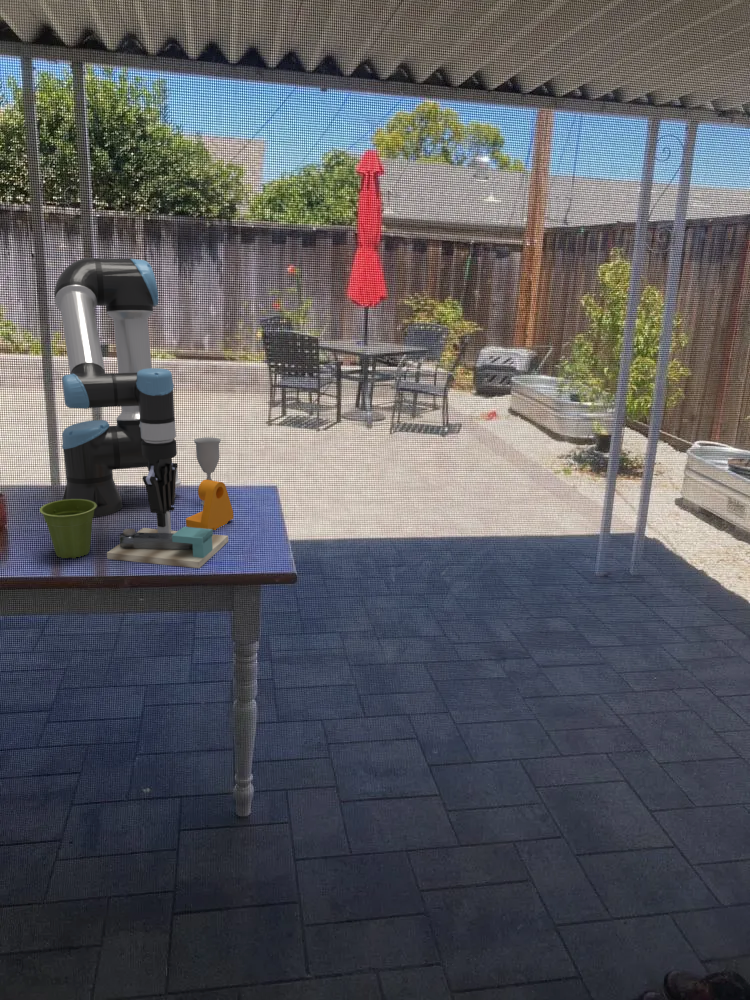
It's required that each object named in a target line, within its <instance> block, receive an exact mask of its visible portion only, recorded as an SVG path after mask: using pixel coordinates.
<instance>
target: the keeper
mask: <svg viewBox="0 0 750 1000" xmlns="http://www.w3.org/2000/svg"><path fill="white" fill-rule="evenodd" d="M176 531H177V532H176V533H175V534H173V535H172V542H179V543H190V544H193V557H201V558H204V557H205V556H206V555H207V554H209V553H210V552H211V551H212V550H213V548H212V536H213V534H214V532H213V529H203V528H193V527H187V526H182V527H181V528H180V529H178V530H176Z"/></svg>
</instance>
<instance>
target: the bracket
mask: <svg viewBox="0 0 750 1000" xmlns="http://www.w3.org/2000/svg"><path fill="white" fill-rule="evenodd" d="M197 494H198V495H197V496H198V499H200V500H201V501H202V500H203V501H204V505H202V506H203V508H202V511H200V512H197V513H195V514H192V515H190V516H189V517H186V518H185V527H193V528H203V529H213V530H215V531H216V529H217V528H219V527H221V526H223V525H225V524H227V523H228V522H229V521H231V520H234V518H235V517H234V510H233V506H232V503H231V500H230V497H229V492H228V489H227V487H226V484H225V483H224V482H222V481H217V480H213V479H212V480H206V479H203V480H201V482H200V483H199V485H198V489H197ZM227 525H228V524H227ZM225 526H226V525H225ZM223 527H224V526H223ZM221 528H222V527H221ZM219 529H220V528H219ZM217 530H218V529H217Z"/></svg>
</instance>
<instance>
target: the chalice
mask: <svg viewBox="0 0 750 1000" xmlns="http://www.w3.org/2000/svg"><path fill="white" fill-rule="evenodd" d="M221 441H222V439H221V438H218V437H213V436H211V437H209V436H207V437H205V436H204V437H198V438H194V439H193V442H194V444H195V453H196V454H195V455H196V459H197V462H198V464H199V466H200V469H201V470H202V472H203V473H205V474H206V479H205V480H212V481H213V479H212V476H211V475H212V473H214V472H215V471H216V468H217V465H218V464H219V460H220V443H221ZM200 504H202V505H201V506H204V501H203V500H201V502H200Z"/></svg>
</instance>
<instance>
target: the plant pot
mask: <svg viewBox="0 0 750 1000" xmlns="http://www.w3.org/2000/svg"><path fill="white" fill-rule="evenodd" d="M96 507H97V504H96V503H95V502H93V501H90V500H85V499H66V500H63V499H59V500H56V501H52V502H48V503H46V504H43V505H42V506H41V507H40V508H39V513H40V514H42V516H43V519H44V521H45V523H46V525H47V529H48V531H49V532H48V533H49V535H50V539H51V542H52V545H53V549H54V552H55V555H56V557H58V558H60V557H61V558H60V559H64V558H67V559H68V558H72V559H77V558H76V557H79V558H81V557H80V556H82V557H85V556H86V555H88V554H89V553H90V550H91V542H92V529H93V521H94V520H93V519H94V518H95V517H94V509H95V508H96ZM84 555H85V556H84Z"/></svg>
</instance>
